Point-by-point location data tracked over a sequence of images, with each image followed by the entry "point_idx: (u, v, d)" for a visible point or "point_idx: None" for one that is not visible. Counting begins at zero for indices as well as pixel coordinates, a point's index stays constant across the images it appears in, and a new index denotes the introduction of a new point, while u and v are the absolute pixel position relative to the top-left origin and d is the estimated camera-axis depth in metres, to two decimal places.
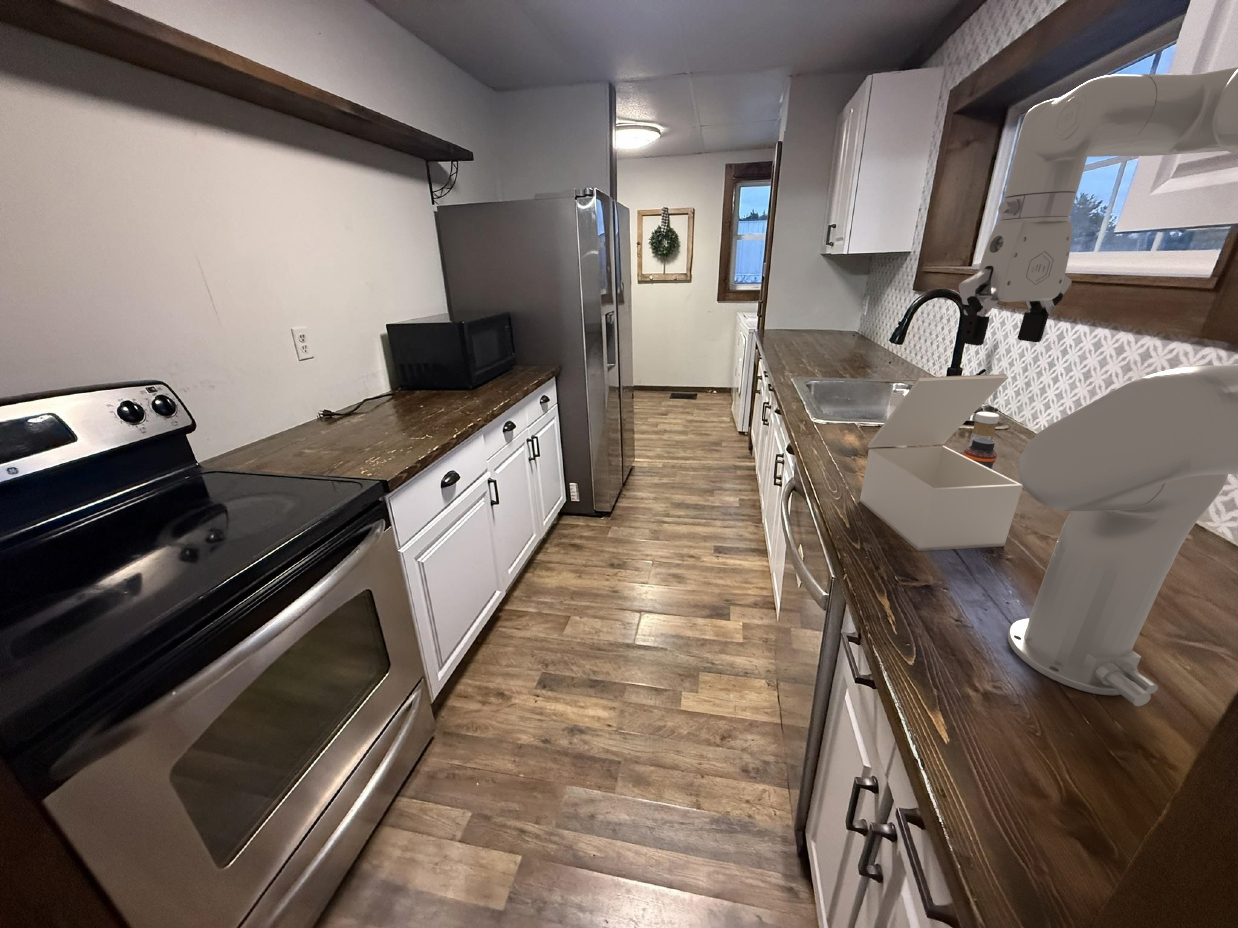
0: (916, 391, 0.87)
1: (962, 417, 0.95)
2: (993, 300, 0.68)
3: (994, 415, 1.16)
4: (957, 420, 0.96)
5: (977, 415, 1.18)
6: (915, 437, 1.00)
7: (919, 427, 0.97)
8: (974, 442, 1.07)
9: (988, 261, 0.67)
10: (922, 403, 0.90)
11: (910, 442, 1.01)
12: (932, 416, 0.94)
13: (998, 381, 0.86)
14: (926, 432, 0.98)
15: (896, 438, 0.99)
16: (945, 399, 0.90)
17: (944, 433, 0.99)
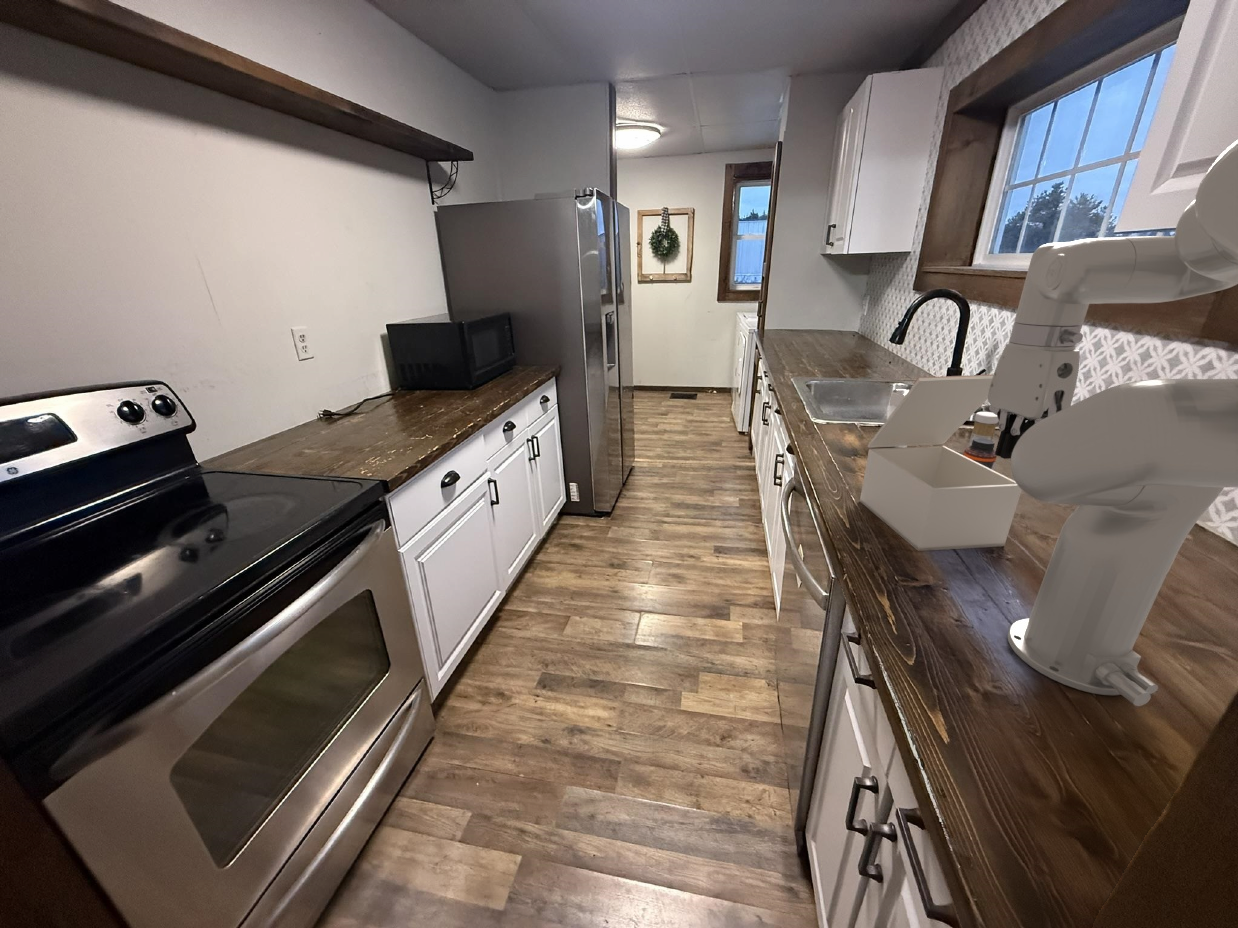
0: (916, 391, 0.87)
1: (962, 417, 0.95)
2: None
3: (994, 415, 1.16)
4: (957, 420, 0.96)
5: (977, 415, 1.18)
6: (915, 437, 1.00)
7: (919, 427, 0.97)
8: (974, 442, 1.07)
9: (1058, 386, 0.68)
10: (922, 403, 0.90)
11: (910, 442, 1.01)
12: (932, 416, 0.94)
13: None
14: (926, 432, 0.98)
15: (896, 438, 0.99)
16: (945, 399, 0.90)
17: (944, 433, 0.99)
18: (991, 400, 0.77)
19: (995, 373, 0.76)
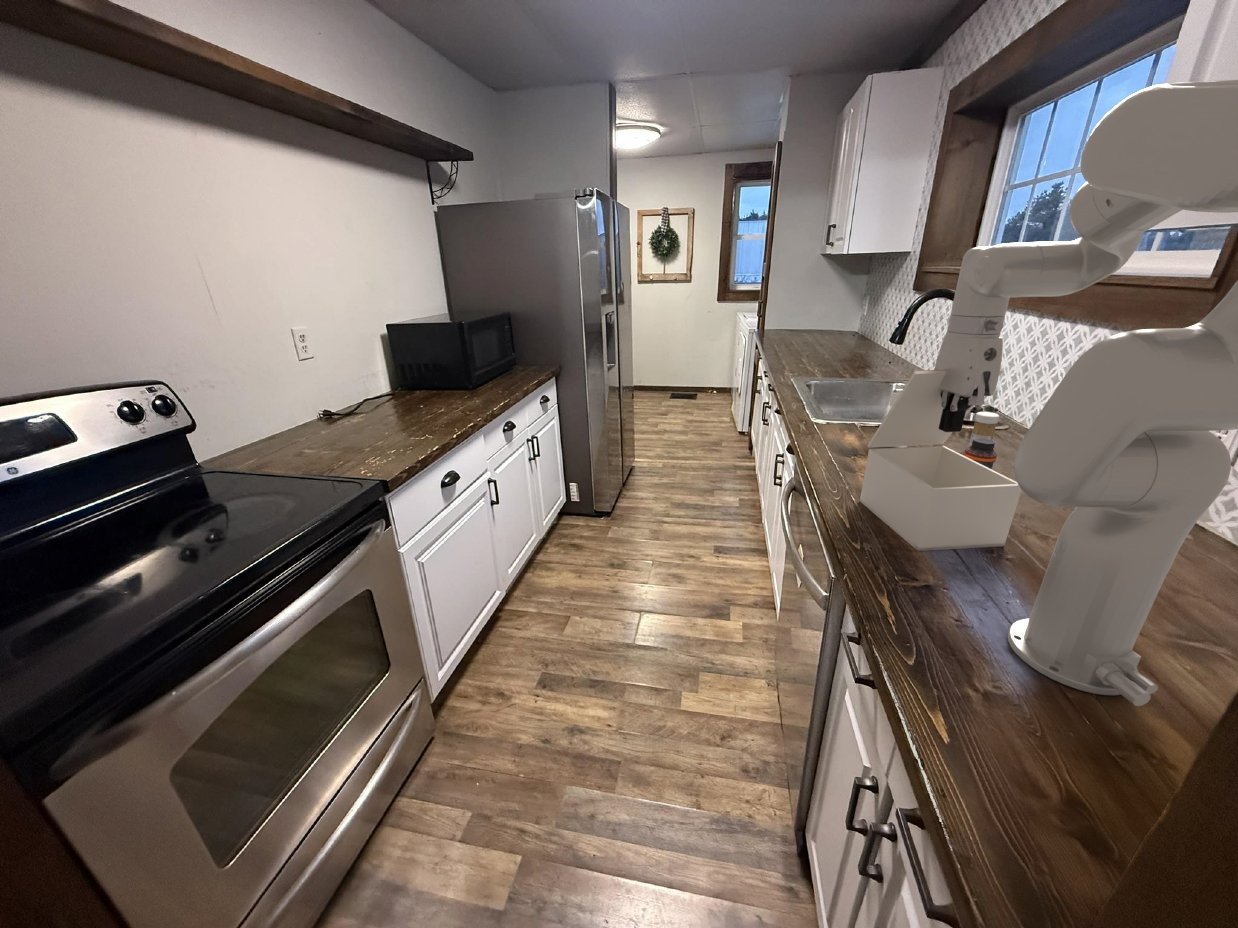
0: (912, 385, 0.88)
1: None
2: None
3: (994, 415, 1.16)
4: None
5: (977, 415, 1.18)
6: (914, 436, 1.00)
7: (918, 425, 0.97)
8: (974, 442, 1.07)
9: (985, 368, 0.80)
10: (919, 398, 0.91)
11: (910, 441, 1.01)
12: (930, 413, 0.94)
13: None
14: (925, 431, 0.99)
15: (896, 437, 1.00)
16: None
17: (943, 431, 0.99)
18: None
19: (938, 358, 0.89)
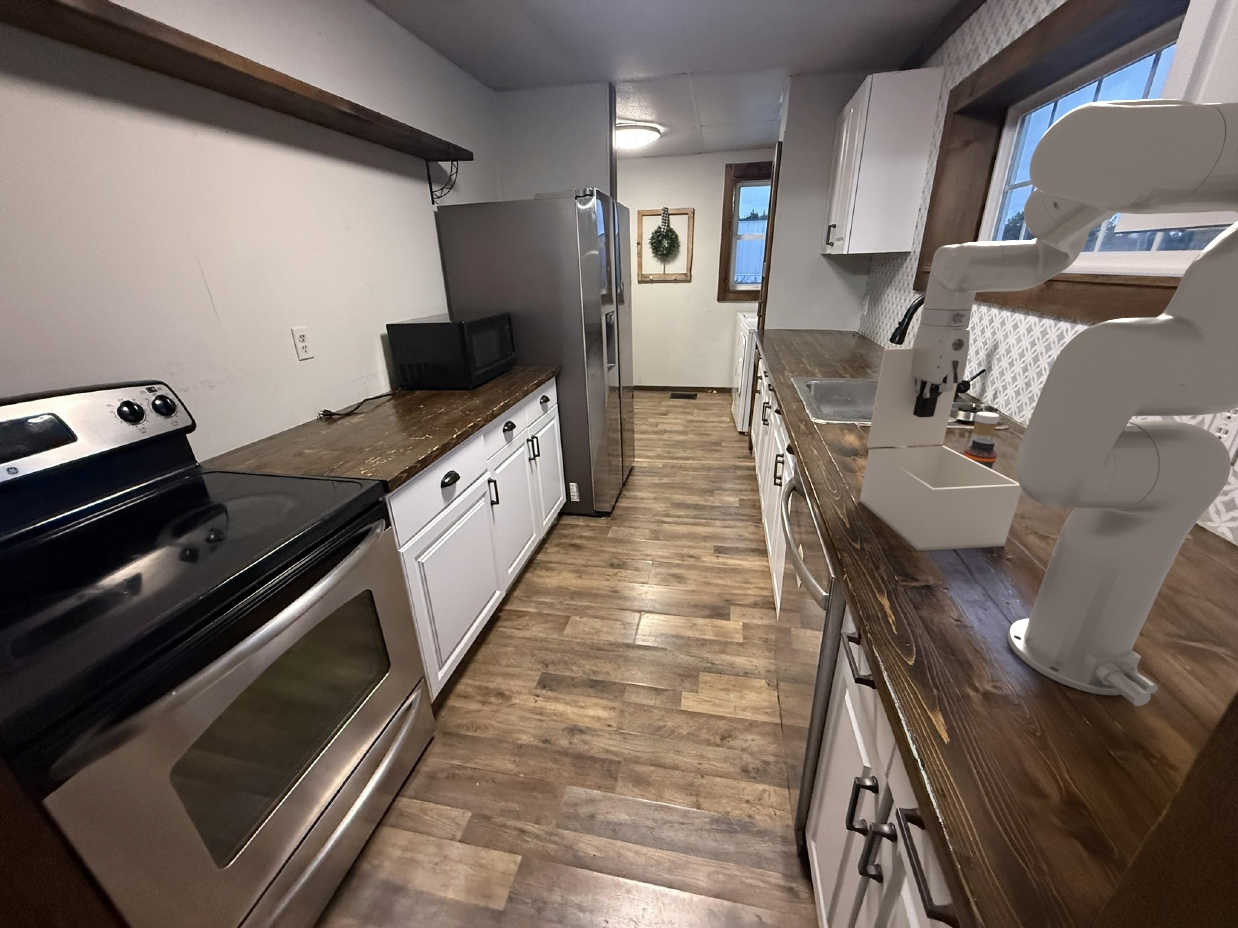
0: (887, 363, 0.95)
1: (945, 402, 0.99)
2: None
3: (994, 415, 1.16)
4: (942, 406, 0.99)
5: (977, 415, 1.18)
6: (910, 432, 1.01)
7: (909, 416, 1.00)
8: (974, 442, 1.07)
9: (953, 357, 0.87)
10: (898, 380, 0.97)
11: (908, 439, 1.02)
12: (915, 400, 0.98)
13: None
14: (919, 424, 1.01)
15: (892, 433, 1.01)
16: None
17: (937, 425, 1.01)
18: None
19: None
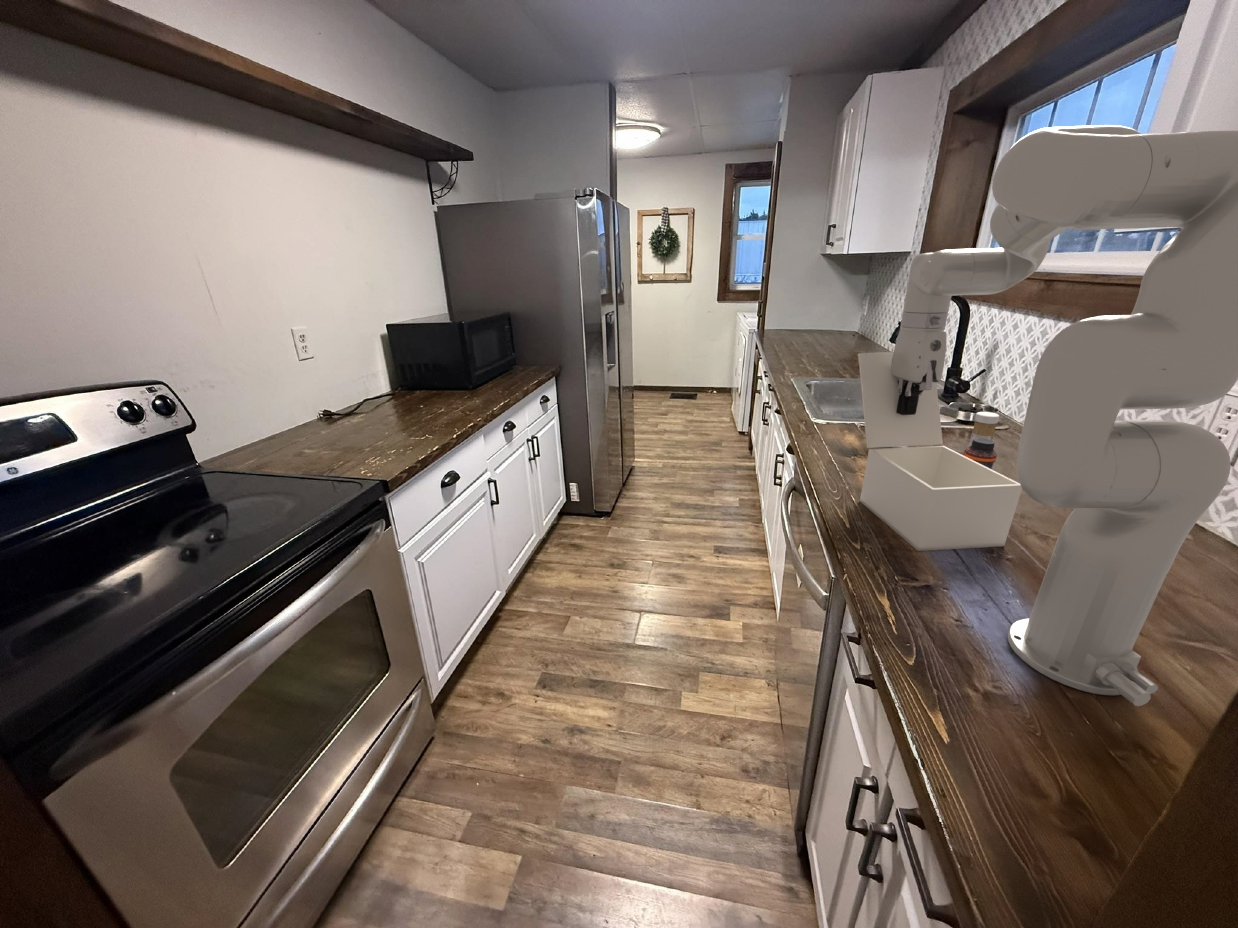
0: (864, 365, 1.03)
1: (931, 401, 1.03)
2: None
3: (994, 415, 1.16)
4: (930, 406, 1.03)
5: (977, 415, 1.18)
6: (906, 431, 1.02)
7: (900, 415, 1.03)
8: (974, 442, 1.07)
9: (931, 357, 0.93)
10: (880, 381, 1.03)
11: (906, 439, 1.02)
12: None
13: None
14: (912, 424, 1.03)
15: (888, 432, 1.02)
16: None
17: (931, 425, 1.03)
18: (892, 371, 1.02)
19: (894, 351, 1.01)
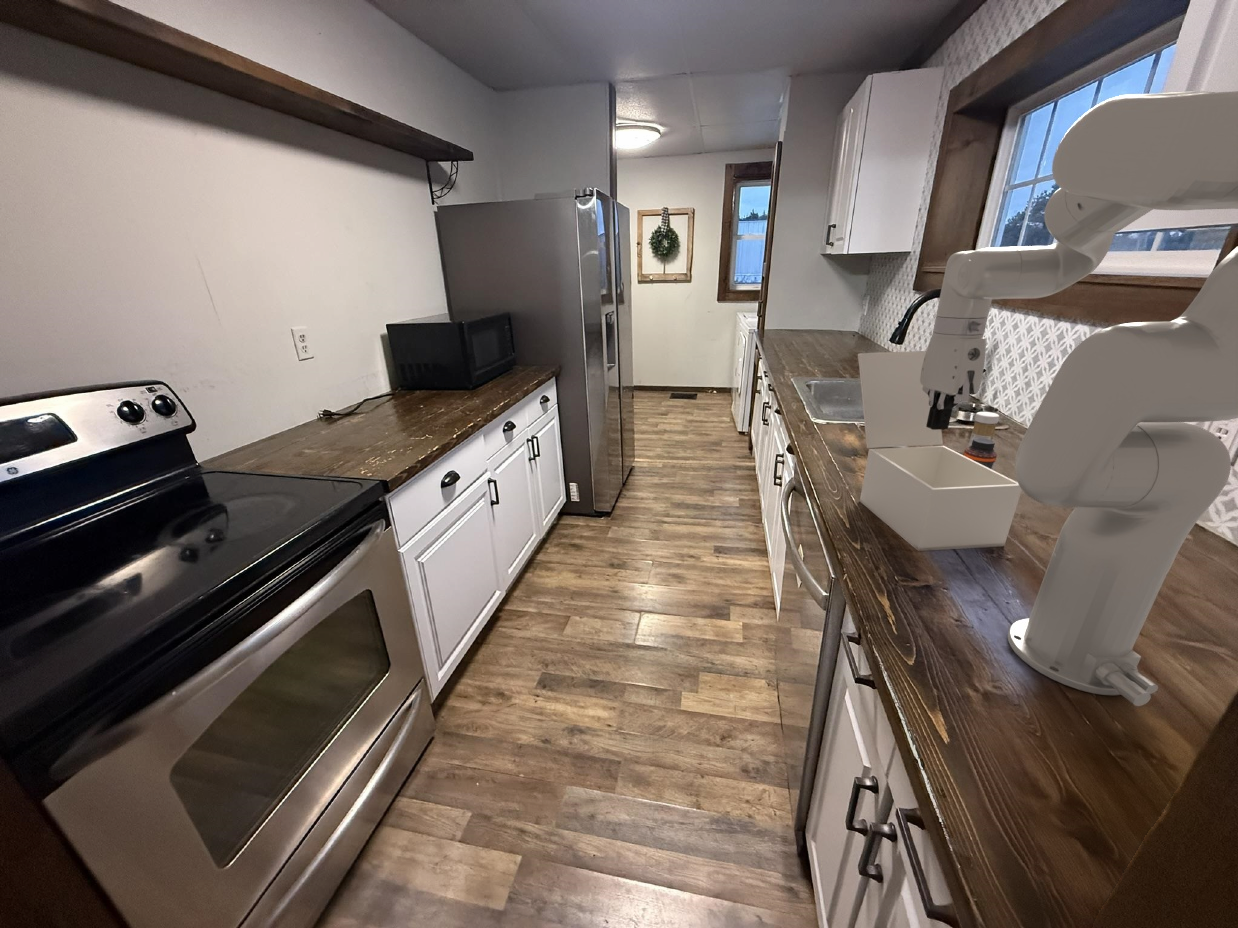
0: (864, 365, 1.03)
1: None
2: None
3: (994, 415, 1.16)
4: (930, 406, 1.03)
5: (977, 415, 1.18)
6: (906, 431, 1.02)
7: (900, 416, 1.03)
8: (974, 442, 1.07)
9: (969, 367, 0.84)
10: (879, 381, 1.03)
11: (906, 439, 1.02)
12: (901, 399, 1.03)
13: None
14: (912, 424, 1.03)
15: (888, 432, 1.02)
16: (897, 376, 1.03)
17: None
18: (922, 381, 0.93)
19: (925, 359, 0.92)
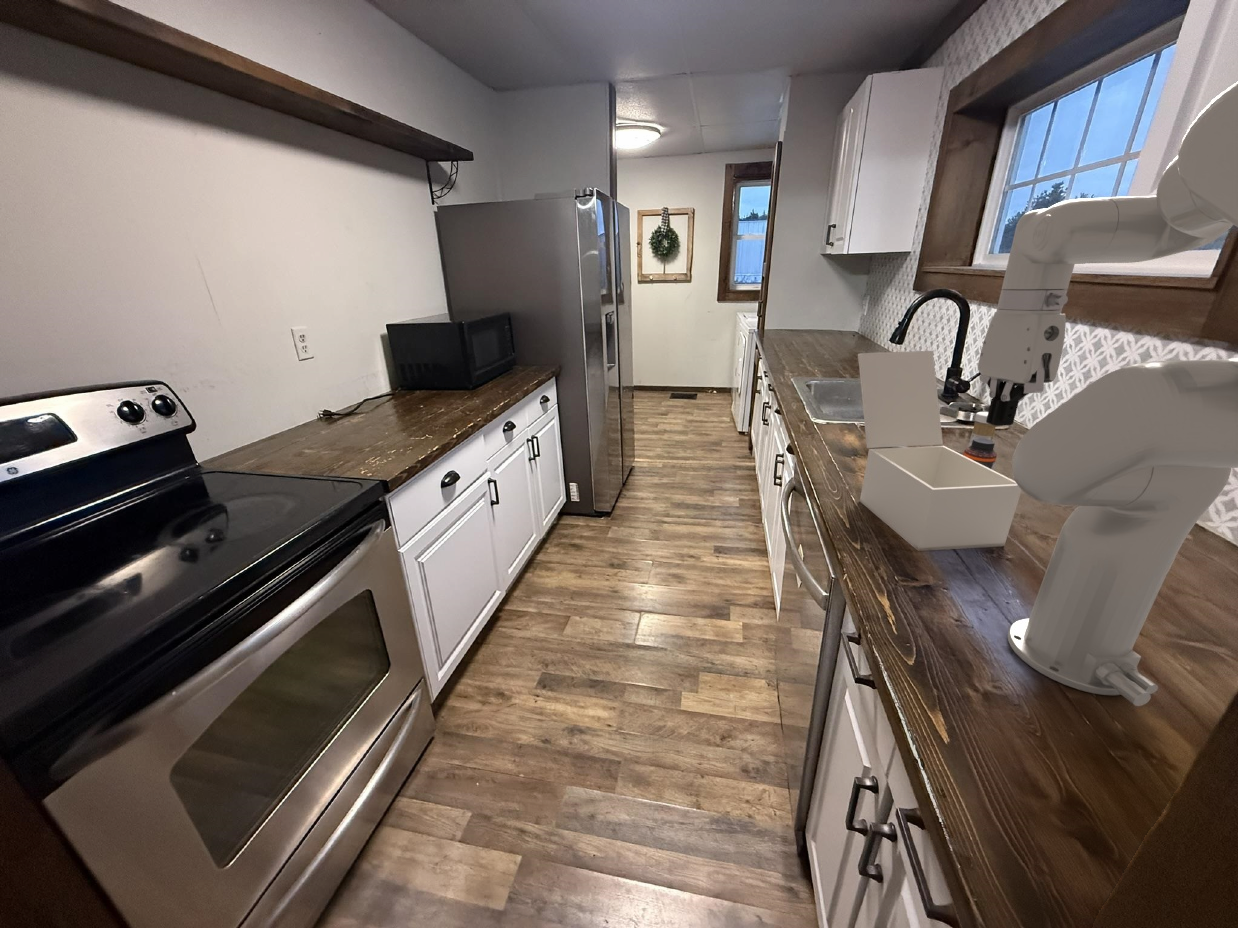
0: (864, 365, 1.03)
1: (931, 401, 1.03)
2: None
3: None
4: (930, 406, 1.03)
5: (977, 415, 1.18)
6: (906, 431, 1.02)
7: (900, 416, 1.03)
8: (974, 442, 1.07)
9: (1045, 349, 0.69)
10: (879, 381, 1.03)
11: (906, 439, 1.02)
12: (901, 399, 1.03)
13: (927, 355, 1.04)
14: (912, 424, 1.03)
15: (888, 432, 1.02)
16: (897, 376, 1.03)
17: (931, 425, 1.03)
18: (981, 369, 0.79)
19: (984, 342, 0.78)
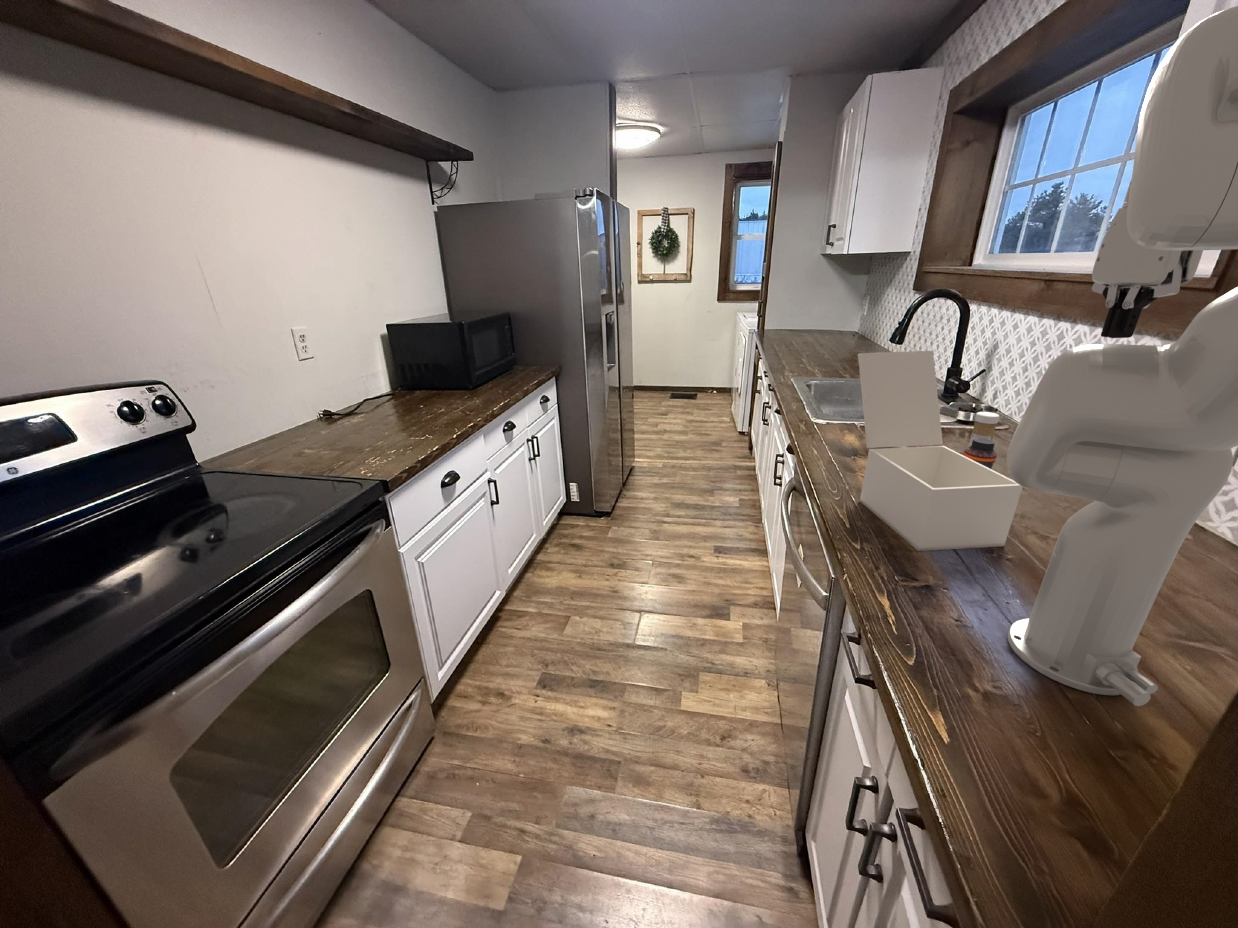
0: (864, 365, 1.03)
1: (931, 401, 1.03)
2: None
3: (994, 415, 1.16)
4: (930, 406, 1.03)
5: (977, 415, 1.18)
6: (906, 431, 1.02)
7: (900, 416, 1.03)
8: (974, 442, 1.07)
9: None
10: (879, 381, 1.03)
11: (906, 439, 1.02)
12: (901, 399, 1.03)
13: (927, 355, 1.04)
14: (912, 424, 1.03)
15: (888, 432, 1.02)
16: (897, 376, 1.03)
17: (931, 425, 1.03)
18: (1097, 276, 0.71)
19: (1103, 245, 0.70)
